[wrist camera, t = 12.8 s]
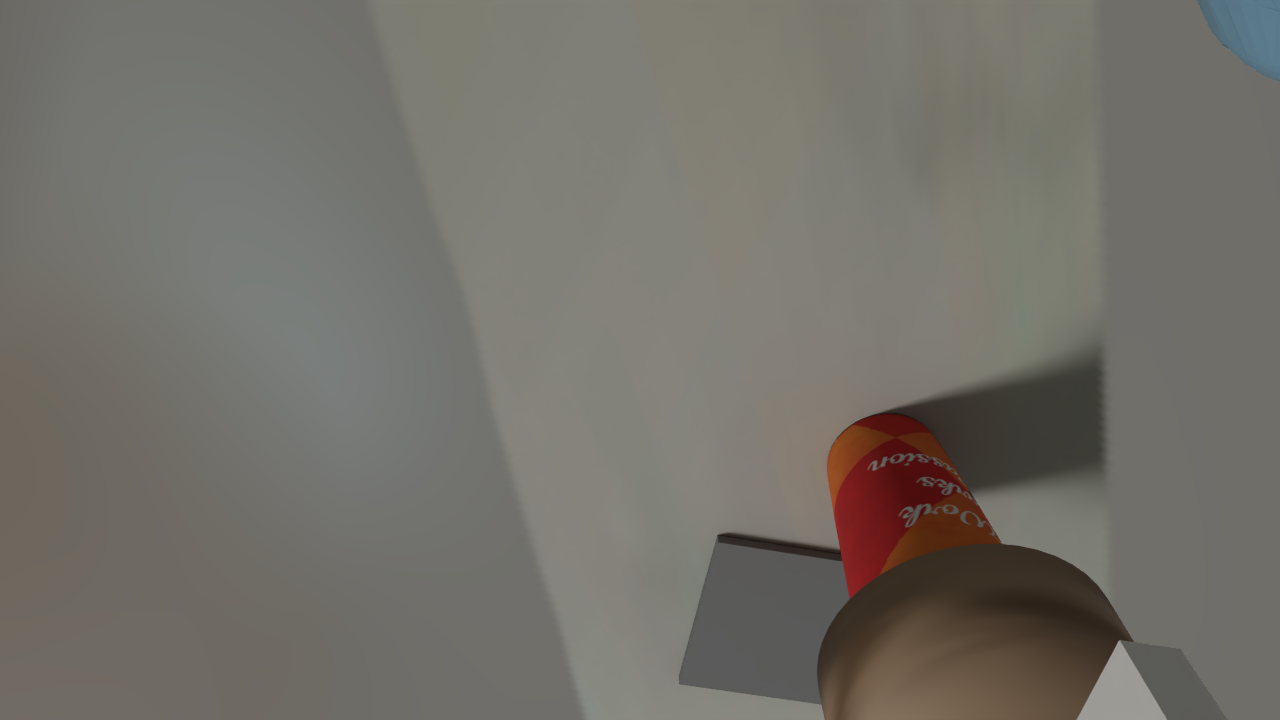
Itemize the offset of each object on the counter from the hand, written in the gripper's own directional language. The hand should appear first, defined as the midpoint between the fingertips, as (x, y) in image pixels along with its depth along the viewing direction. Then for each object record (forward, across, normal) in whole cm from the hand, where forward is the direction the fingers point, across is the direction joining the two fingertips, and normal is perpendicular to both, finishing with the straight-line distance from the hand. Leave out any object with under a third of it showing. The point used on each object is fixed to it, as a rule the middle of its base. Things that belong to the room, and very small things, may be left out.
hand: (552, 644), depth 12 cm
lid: (+19, +16, -16) cm, 29 cm away
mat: (+33, +14, -27) cm, 45 cm away
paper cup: (+33, +16, -16) cm, 40 cm away
